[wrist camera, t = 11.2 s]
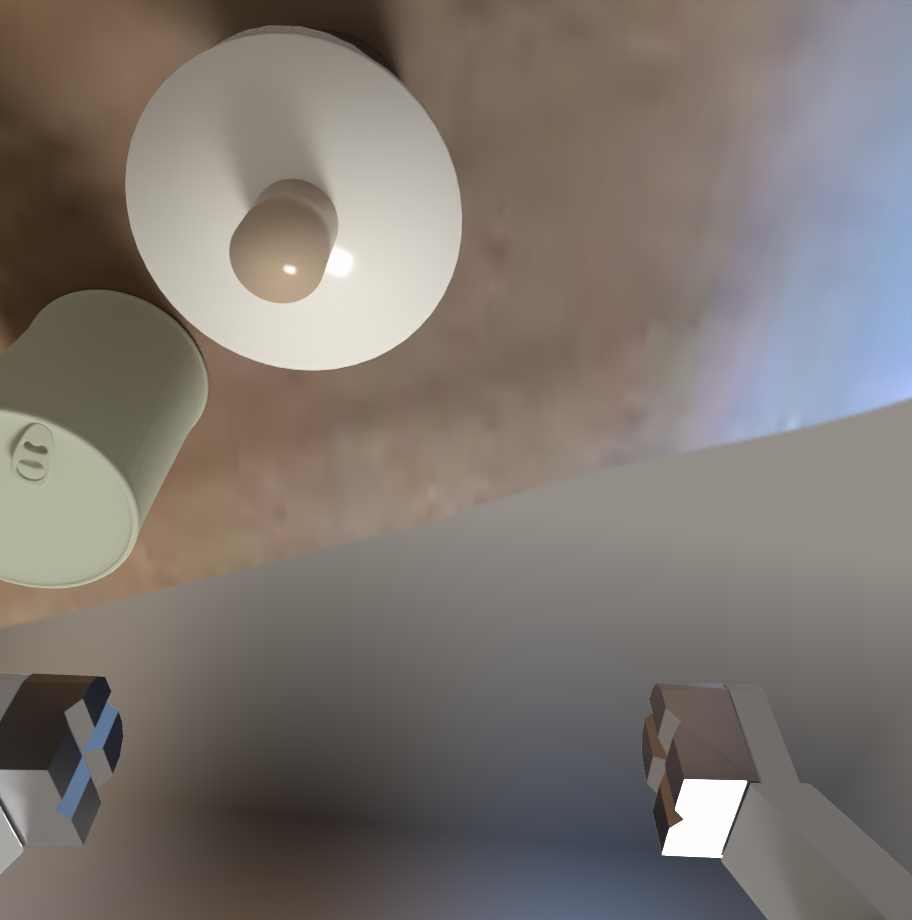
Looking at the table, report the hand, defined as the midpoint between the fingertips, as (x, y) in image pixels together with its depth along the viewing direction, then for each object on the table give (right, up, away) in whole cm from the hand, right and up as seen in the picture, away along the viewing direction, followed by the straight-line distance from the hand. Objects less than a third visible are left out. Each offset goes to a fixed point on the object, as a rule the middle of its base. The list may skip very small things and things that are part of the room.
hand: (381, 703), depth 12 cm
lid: (-4, +12, +15) cm, 20 cm away
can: (-17, +8, +29) cm, 35 cm away
